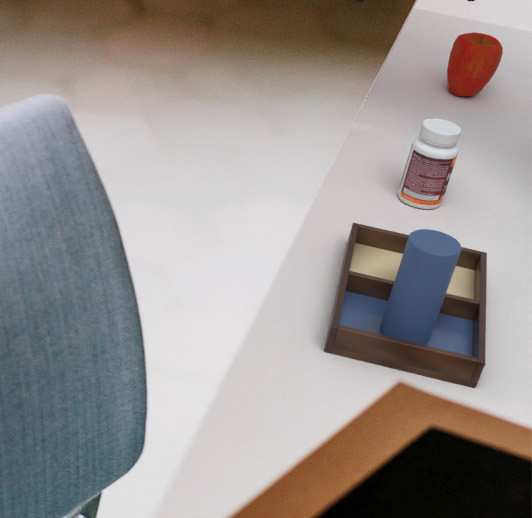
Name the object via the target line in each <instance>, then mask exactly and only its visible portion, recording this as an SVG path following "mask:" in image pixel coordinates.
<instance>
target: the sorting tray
mask: <svg viewBox="0 0 532 518" xmlns="http://www.w3.org/2000/svg"><path fill="white" fill-rule="evenodd" d="M409 235H410V234H406V233H402V232H397V231H393V230H388V229H385V228H380V227H374V226H371V225H366V224H361V223H357V222H352V224H351V227H350V231H349V235H348V239H347V242H346V247H345V250H344V254H343V259H342V264H341V269H340V273H339V274H340V275H339V279H338V283H337V289H336V293H335V297H334V302H333V307H332V312H331V316H330V321H329V325H328V329H327V330H328V331H327V335H326V340H325V345H324V349H323V351H324V352H325V353H329V354H334V355H338V356H341V357H346V358H350V359H354V360H358V361H362V362H366V363H370V364H373V365H379V366H382V367H387V368H392V369H395V370H399V371H404V372H408V373H412V374H415V375H421V376H424V377H427V378H428V377H429V378H433V379H436V380H441V381H445V382H449V383H454V384H457V385H462V386H466V387H469V388H473V389H475V388H477V385H478V382H479V380H480V378H481V375H482V373H483V370H484V368H485V365H486V344H487V343H486V342H487V341H486V339H487V336H486V335H487V334H486V333H487V273H488V272H487V270H488V268H487V267H488V260H487V259H488V258H487V257H488V252H486V251H480V250H477V249H472V248H469V247H468V248H467V247H463V246H461V252H460V255H459V258H458V261H457V264H456V266H455V269H454V272H453V275H452V278H451V281H450V283H449V286H448V289H447V292H446V295H445V298H444V301H443V303H442V306H441V309H440V312H439V315H438V318H437V320H436V323H435V326H434V329H433V332H432V335H431V337H430V340H429V341H428V342H427V343H426V344H423V345H422V344H417V343H413V342H409V341H405V340H401V339H396V338H392V337H388V336H385V335H384V334H383V332H382V331H381V322H382V319H383V316H384V313H385V310H386V307H387V303H388V300H389V297H390V294H391V291H392V288H393V285H394V281H395V278H396V275H397V272H398V269H399V266H400V263H401V259H402V256H403V253H404V250H405V247H406V244H407V241H408V237H409Z"/></svg>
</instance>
